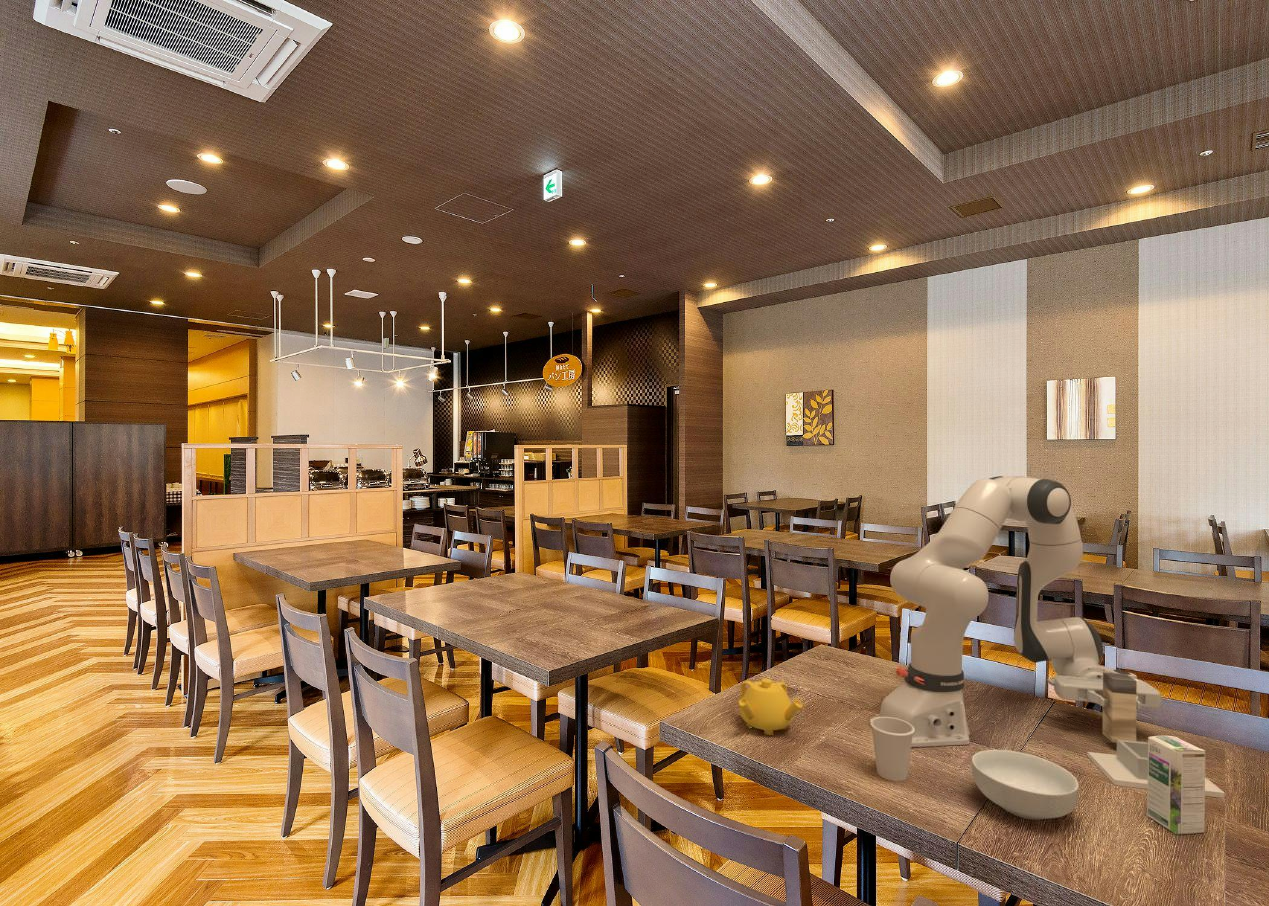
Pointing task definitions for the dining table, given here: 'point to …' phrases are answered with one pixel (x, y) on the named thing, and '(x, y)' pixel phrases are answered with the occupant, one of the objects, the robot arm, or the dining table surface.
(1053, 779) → the cereal bowl
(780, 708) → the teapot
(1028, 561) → the robot arm
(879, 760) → the dixie cup
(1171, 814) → the syrup box
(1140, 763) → the caddy
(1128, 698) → the tool handle
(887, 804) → the dining table surface
